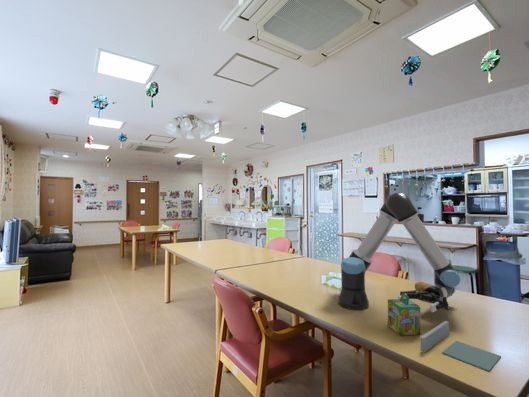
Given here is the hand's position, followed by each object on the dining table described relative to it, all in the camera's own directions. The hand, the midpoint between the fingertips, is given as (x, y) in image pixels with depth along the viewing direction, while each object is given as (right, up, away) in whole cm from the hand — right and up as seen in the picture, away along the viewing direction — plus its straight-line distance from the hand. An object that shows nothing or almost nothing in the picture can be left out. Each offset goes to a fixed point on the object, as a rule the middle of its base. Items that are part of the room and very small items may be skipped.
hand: (414, 304), depth 117 cm
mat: (+6, -8, -24) cm, 26 cm away
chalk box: (-8, -9, -6) cm, 13 cm away
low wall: (-1, -8, -16) cm, 18 cm away
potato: (+25, -9, +31) cm, 41 cm away
